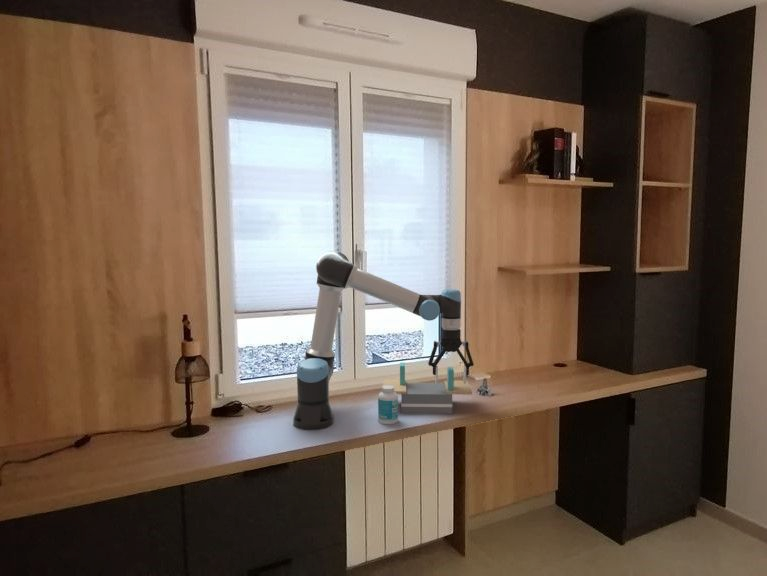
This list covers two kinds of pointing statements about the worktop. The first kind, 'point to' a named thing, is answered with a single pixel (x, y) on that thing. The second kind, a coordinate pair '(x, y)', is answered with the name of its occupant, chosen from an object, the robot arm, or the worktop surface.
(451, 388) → the flap
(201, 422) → the worktop surface
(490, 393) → the grey irregular piece
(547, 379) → the worktop surface
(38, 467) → the worktop surface
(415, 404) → the carton
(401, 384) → the flap
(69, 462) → the worktop surface
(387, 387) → the pill bottle
